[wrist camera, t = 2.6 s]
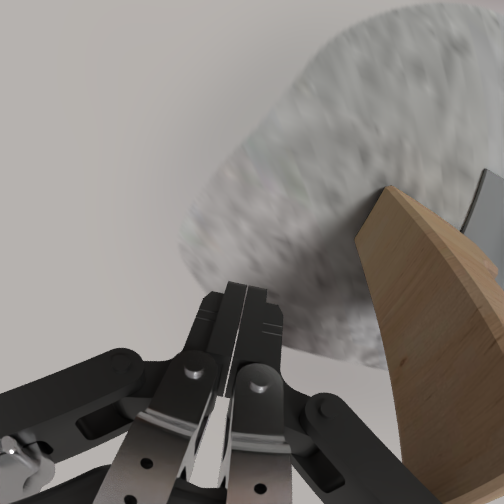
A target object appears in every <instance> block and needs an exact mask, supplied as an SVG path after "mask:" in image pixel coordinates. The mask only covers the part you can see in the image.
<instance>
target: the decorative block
mask: <svg viewBox="0 0 504 504" xmlns="http://www.w3.org/2000/svg"><path fill="white" fill-rule="evenodd" d="M354 241H355V244H356V248H357V251H358V254H359V257H360V260H361V264H362V267H363V270H364V274H365V277H366V281H367V284H368V288H369V291H370V295H371V298H372V302H373V305H374V309H375V313H376V317H377V320H378V324H379V328H380V332H381V337H382V341H383V346H384V350H385V355H386V360H387V365H388V370H389V375H390V380H391V386H392V391H393V397H394V402H395V409H396V415H397V422H398V429H399V437H400V446H401V455H402V463H403V465H404V466H405V467H406V468H407V469H408V470H409V471H410V472H411V473H412V474H413V475H414V476H415V477H416V478H417V479H418V480H419V481H420V482H421V483H422V484H423V485H424V486H425V487H426V488H427V489H428V490H429V491H430V492H431V493H432V494H433V495H434V496H435V497H436V498H437V499H438V500H439V501H440V502H441V503H442V504H485V503H488V502H490V501H493V500H495V499H497V498H500V497H502V496H504V291H503V290H502V288H501V287H500V286H499V285H498V283H497V282H496V281H495V278H496V277H497V275H498V268H497V267H496V266H495V265H494V263H493V262H492V261H491V260H490V259H489V258H488V257H487V256H486V254H485V253H484V252H483V251H482V250H481V249H480V248H479V247H478V246H477V245H476V244H475V243H474V242H473V241H471V240H470V239H469V238H468V237H466V236H465V235H464V234H462V233H461V232H460V231H458V230H457V229H456V228H454V227H453V226H452V225H450V224H449V223H448V222H446V221H445V220H443V219H442V218H441V217H439V216H438V215H436V214H435V213H434V212H432V211H431V210H429V209H428V208H426V207H425V206H423V205H422V204H420V203H419V202H417V201H416V200H414V199H413V198H411V197H410V196H408V195H406V194H405V193H403V192H402V191H400V190H398V189H397V188H395V187H394V186H392V185H390V186H387V187H385V188H384V190H383V192H382V194H381V195H380V197H379V199H378V201H377V202H376V204H375V206H374V207H373V209H372V211H371V212H370V214H369V216H368V217H367V219H366V221H365V222H364V224H363V226H362V227H361V229H360V231H359V232H358V234H357V235H356V237H355V239H354Z"/></svg>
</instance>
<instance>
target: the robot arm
mask: <svg viewBox="0 0 504 504" xmlns="http://www.w3.org/2000/svg"><path fill="white" fill-rule="evenodd" d="M246 288H247V285H244V284H239V283H235V282H230V281H228V284H227V287H226V290H225V293H224V294H223V293H218V292H214V291H212V292H210V293H209V294H208V295H207V296H205V297H204V298H203V300H202V303H201V305H200V308H199V310H198V313H197V315H196V318H195V320H194V323H193V326H192V328H191V331H190V333H189V336H188V338H187V341H186V343H185V346H184V348H183V350H182V351H181V352H180V353H178V354H177V355H176V356H175V357H174V358H172V359H170V360H166V361H143V360H142V358H141V357H140V356H139V354H137V353H136V352H134V351H133V350H130V349H127V348H116V349H112V350H110V351H107V352H105V353H103V354H100V355H98V356H96V357H93V358H91V359H88V360H86V361H84V362H81V363H78V364H76V365H74V366H71V367H69V368H66V369H64V370H61V371H59V372H56V373H54V374H51V375H48V376H46V377H44V378H41V379H38V380H36V381H33V382H30V383H28V384H25V385H23V386H20V387H17V388H15V389H12V390H9V391H7V392H4V393H1V394H0V504H292V465H293V467H294V468H295V469H296V470H297V472H298V473H299V474H300V475H301V477H302V478H303V479H304V480H305V481H306V483H307V484H308V485H309V486H310V487H311V489H312V490H313V491H314V492H315V494H316V495H317V496H318V497H319V498H320V499H321V501H322V502H323V503H324V504H442V503H441V502H440V501H439V500H438V499H437V498H436V497H435V496H434V495H433V494H432V493H431V492H430V491H429V490H428V489H427V488H426V487H425V486H424V485H423V484H422V483H421V482H420V481H419V480H418V479H417V478H416V477H415V476H414V475H413V474H412V473H411V472H410V471H409V470H408V469H407V468H406V467H405V466H404V465H403V463H401V461H400V460H399V459H398V458H397V457H396V456H395V455H394V454H393V453H392V452H391V451H390V450H389V449H388V448H387V447H386V446H385V445H384V444H383V443H382V442H381V441H380V439H379V438H377V436H376V435H375V434H374V433H373V432H372V431H371V430H370V429H369V428H368V427H367V426H366V425H365V423H364V422H363V421H362V420H361V419H360V418H359V417H358V416H357V415H356V414H355V413H354V412H353V410H352V409H351V408H350V407H349V406H348V405H347V404H346V403H345V402H344V401H343V400H342V399H341V398H339V397H338V396H336V395H334V394H331V393H318V394H316V395H313V396H312V397H310V396H307V395H305V394H302V393H300V392H298V391H296V390H294V389H293V388H291V387H290V386H289V385H287V383H285V381H284V379H283V378H282V376H281V372H280V362H281V347H282V329H283V328H282V326H283V314H282V312H281V310H280V308H279V306H278V305H275V304H270V303H266V297H267V289H263V288H259V287H254V286H248V291H247V296H246V300H245V305H244V310H243V314H242V319H241V324H240V328H239V333H238V338H237V342H236V347H235V351H234V356H233V361H232V366H231V370H230V374H229V379H228V384H227V388H226V393H225V397H227V398H230V402H229V408H228V412H227V416H226V423H225V431H224V441H223V449H222V450H223V451H222V458H221V466H220V472H219V478H218V486H217V488H200V487H198V486H196V485H193V484H191V483H189V480H190V477H191V474H192V471H193V467H194V463H195V459H196V456H197V453H198V450H199V447H200V444H201V442H202V439H203V436H204V433H205V430H206V427H207V424H208V421H209V418H210V415H211V412H212V411H213V409H214V405H215V401H216V397H217V396H222V397H223V393H224V388H225V384H226V379H227V375H228V371H229V366H230V362H231V357H232V352H233V348H234V344H235V339H236V334H237V330H238V326H239V321H240V316H241V312H242V307H243V302H244V297H245V293H246ZM127 431H128V432H127ZM125 432H127V434H126V436H125V439H124V440H123V442H122V445H121V446H120V448H119V450H118V452H117V454H116V457H115V458H114V460H113V462H112V464H110V465H104V466H100V467H97V468H94V469H92V470H90V471H88V472H86V473H83V474H81V475H79V476H77V477H75V478H73V479H70V480H68V481H66V482H64V483H61V484H59V485H57V486H55V487H52V488H50V489H47V490H45V491H42V492H40V490H41V488H42V487H43V486H44V485H46V484H48V483H49V482H50V481H51V480H52V479H53V477H54V474H55V465H54V464H55V463H58V462H60V461H63V460H65V459H68V458H70V457H73V456H75V455H78V454H80V453H82V452H84V451H87V450H89V449H91V448H93V447H96V446H98V445H100V444H102V443H104V442H107V441H109V440H110V439H113V438H115V437H117V436H119V435H121V434H123V433H125ZM39 492H40V493H39Z"/></svg>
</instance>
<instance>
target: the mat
mask: <svg viewBox="0 0 504 504" xmlns="http://www.w3.org/2000/svg"><path fill="white" fill-rule="evenodd" d="M462 234H464V235H465V236H466V237H468V238H469V239H470V240H471V241H473V242H474V243H475V244H476V245H477V246H478V247H479V248H480V249H481V250H482V251H483V252H484V253H485V254H486V256H487V257H488V258H489V259H490V260H491V261H492V262H493V263H494V265H495V266H496V267H497V268H498V275H497V277H496V278H495V281H496V282H497V283H498V285H499V286H500V287H501V288H502V290H503V291H504V179H503V178H501V177H499V176H498V175H496V174H494V173H493V172H491V171H489V170H487V169H485V170H484V173H483V177H482V180H481V183H480V186H479V189H478V192H477V194H476V197H475V200H474V203H473V205H472V208H471V211H470V213H469V216H468V218H467V221H466V223H465V225H464V228H463V230H462Z"/></svg>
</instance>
